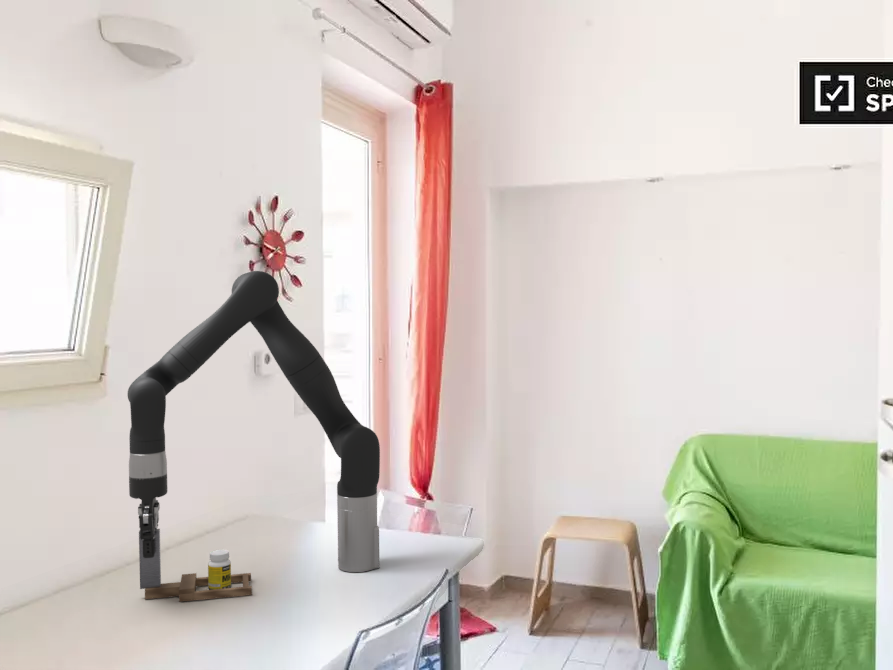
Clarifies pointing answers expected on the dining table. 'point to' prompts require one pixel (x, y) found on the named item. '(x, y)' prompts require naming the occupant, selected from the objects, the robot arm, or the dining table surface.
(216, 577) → the supplement bottle
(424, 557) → the dining table surface
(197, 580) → the strip frame
